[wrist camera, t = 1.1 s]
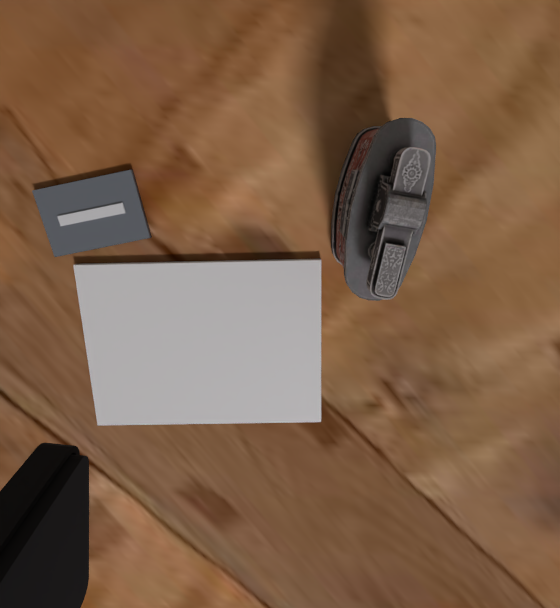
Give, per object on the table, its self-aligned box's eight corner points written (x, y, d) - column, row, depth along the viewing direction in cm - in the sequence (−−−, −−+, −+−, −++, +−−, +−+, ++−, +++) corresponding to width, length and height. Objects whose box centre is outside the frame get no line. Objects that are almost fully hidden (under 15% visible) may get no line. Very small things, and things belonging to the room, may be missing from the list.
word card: (132, 169, 28) (130, 169, 28) (151, 236, 30) (149, 237, 29) (34, 190, 29) (31, 190, 28) (57, 256, 30) (54, 257, 30)
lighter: (349, 121, 27) (383, 105, 18) (408, 132, 28) (473, 122, 18) (321, 260, 30) (338, 310, 20) (375, 269, 30) (418, 324, 20)
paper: (320, 258, 30) (321, 260, 29) (320, 419, 33) (321, 422, 33) (76, 263, 30) (73, 265, 30) (99, 422, 33) (97, 425, 33)
